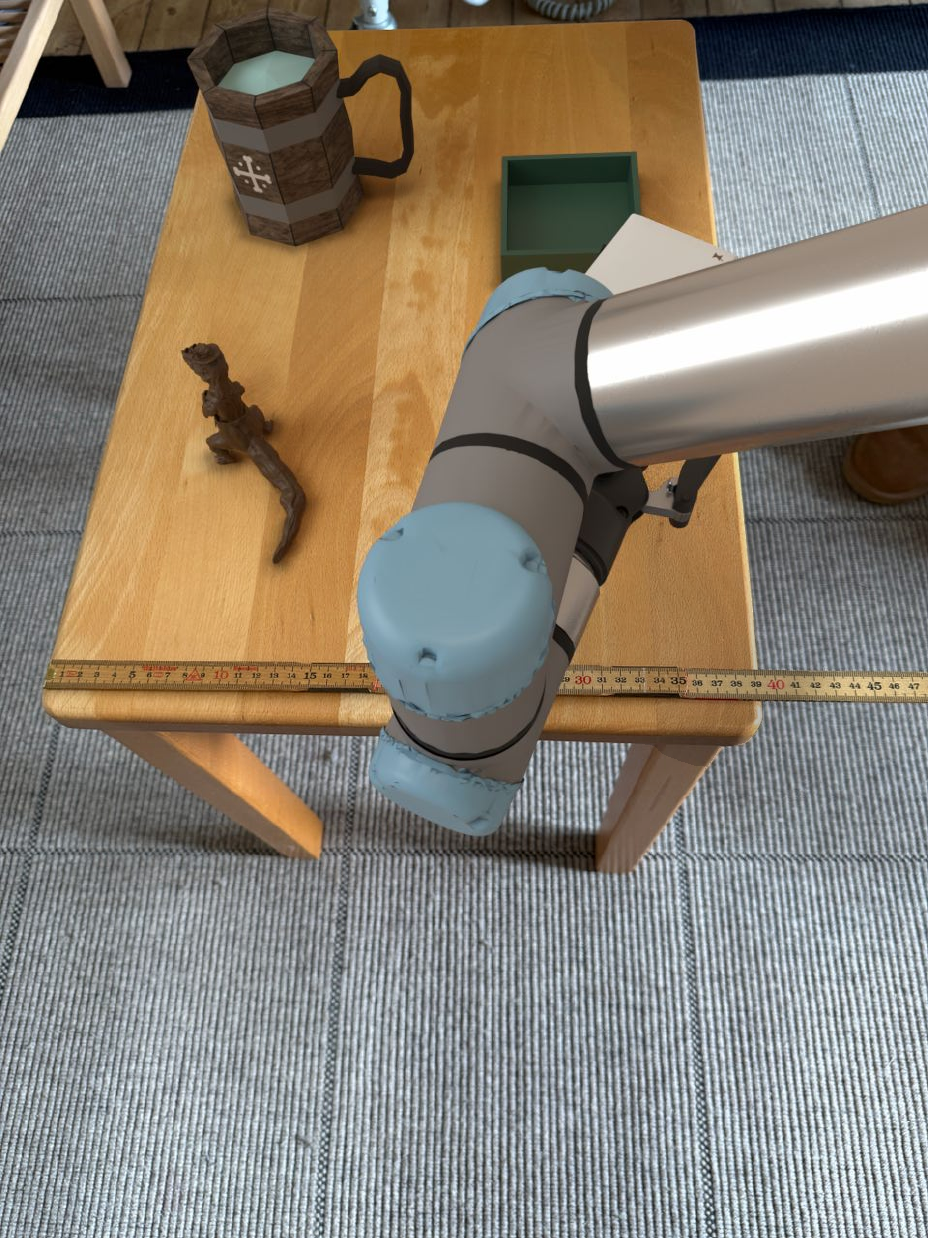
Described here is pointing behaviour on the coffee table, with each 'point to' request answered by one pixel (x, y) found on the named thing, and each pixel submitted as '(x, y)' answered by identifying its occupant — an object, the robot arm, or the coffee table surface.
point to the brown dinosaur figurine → (244, 433)
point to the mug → (290, 122)
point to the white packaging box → (651, 255)
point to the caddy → (564, 208)
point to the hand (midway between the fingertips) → (670, 279)
